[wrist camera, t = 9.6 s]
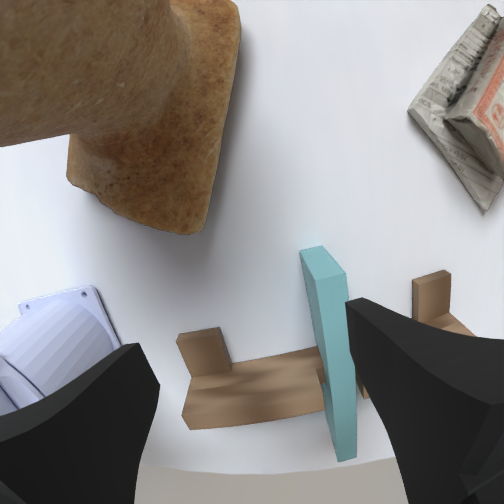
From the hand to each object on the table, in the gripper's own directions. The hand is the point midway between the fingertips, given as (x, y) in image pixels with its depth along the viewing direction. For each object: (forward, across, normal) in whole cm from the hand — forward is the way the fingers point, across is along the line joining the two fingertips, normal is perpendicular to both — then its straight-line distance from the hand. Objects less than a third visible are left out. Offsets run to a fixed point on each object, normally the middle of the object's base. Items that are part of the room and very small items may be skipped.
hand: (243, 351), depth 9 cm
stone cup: (+10, +4, -12) cm, 16 cm away
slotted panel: (+9, -4, +8) cm, 13 cm away
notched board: (+9, -4, +8) cm, 13 cm away
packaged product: (+10, -22, -9) cm, 26 cm away
